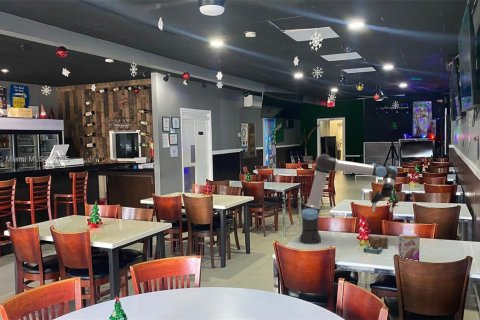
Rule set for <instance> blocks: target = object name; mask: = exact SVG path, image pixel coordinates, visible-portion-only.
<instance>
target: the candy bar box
mask: <svg viewBox="0 0 480 320" xmlns="http://www.w3.org/2000/svg"><path fill="white" fill-rule="evenodd" d="M398 256H401V257H404V258H408V259H412V260H418V261H419V262H420V236H419V235H418V234H409V233H408V234H398Z"/></svg>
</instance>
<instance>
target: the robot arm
mask: <svg viewBox="0 0 480 320" xmlns="http://www.w3.org/2000/svg"><path fill="white" fill-rule="evenodd" d="M315 161H316V162H315V167H314V172H315V174H314V177H313V178H314V179H313V181H312V186H311V191H310V194H309V198H308V202H307V203H305V206H304V209H303V210H302V212H301V221H302V224H301V225H302V226H301V230H302V231H301V235H300V238H299V242H300V241H301V242H300V243H302V242H304V243H303V244H306V243H316V244H320V243H321V242H322V237H321V234H320V231H319V216H320V211H321V207H320V203H321V200H322V199H321V198H322V197H323V192H324V188H325V185H326V181H327V177H328V175H330V173H331V172H336V171H340V172H346V173H353V174H358V175H359V174H360V175H367V176H373V177H378V178H384V179H383V182H382V183H383V184H382V187H381V191H379V190H377V192H376V193H375V195H374V196H373V197H372V199H371V200H370V203H371V212H372V213H375V212H376V208H377V203H378V202H380V201H381V200H382V199H384V198H389V199H390V200H391V202H390V206H389V210H388V211H389V213H393V212H394V211H393V210H394V209H395V207H396V204H399V199H398V197H397V191H396V190H395V189H394V187H395V185H396V184H395V183H396V179H397V176H398V172H399V171H398V168H397V167H396V166H393V165H389V166H388V167H385V166H384V165H380V164H378V163H374V162H371V164H369V163H362V162H355V161H348V160H341V159H338V158H336V157H331V156H330V154H327V153H322V154H320V155H318V157H317V158H316V160H315ZM392 195H393V197H392ZM319 242H320V243H319Z"/></svg>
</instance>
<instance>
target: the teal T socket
mask: <svg viewBox="0 0 480 320" xmlns="http://www.w3.org/2000/svg"><path fill="white" fill-rule="evenodd" d="M382 252H383V248H382V247H379V248H378V249H372V248H370V247H369V245H366V246H364V248H363V253H368V254H375V255H380V254H381V253H382Z"/></svg>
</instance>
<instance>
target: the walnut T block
mask: <svg viewBox="0 0 480 320" xmlns="http://www.w3.org/2000/svg"><path fill="white" fill-rule="evenodd" d="M369 244H370V246H371V247H370V248H371V249H378V248H379V247H382V250H383V249H384V250H385V249H388V248H389V238H388V237H386V236H377V235H376V236H375V235H368V245H369Z"/></svg>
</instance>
